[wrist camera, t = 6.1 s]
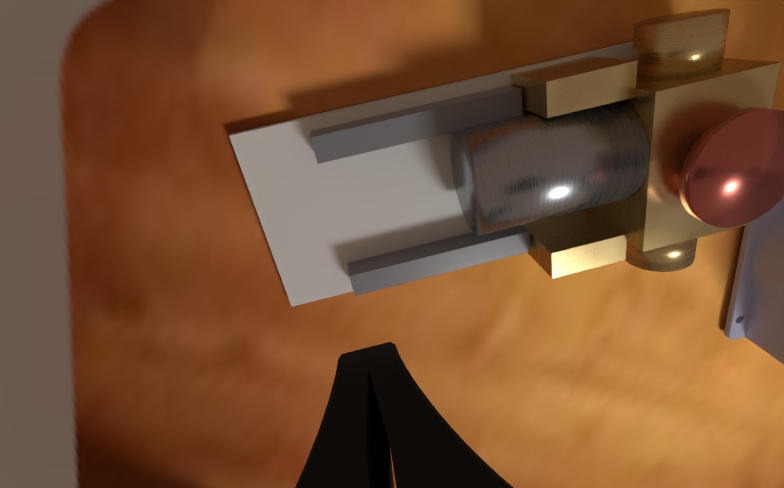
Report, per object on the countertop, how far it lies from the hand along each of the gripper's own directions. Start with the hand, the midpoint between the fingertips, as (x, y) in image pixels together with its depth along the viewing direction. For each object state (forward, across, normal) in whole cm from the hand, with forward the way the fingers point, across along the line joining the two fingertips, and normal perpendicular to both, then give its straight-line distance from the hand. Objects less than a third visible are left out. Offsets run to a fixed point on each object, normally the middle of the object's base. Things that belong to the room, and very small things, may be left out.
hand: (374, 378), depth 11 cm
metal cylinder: (+9, -8, -1) cm, 12 cm away
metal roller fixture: (+10, -6, -1) cm, 12 cm away
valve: (+9, -12, -1) cm, 15 cm away
